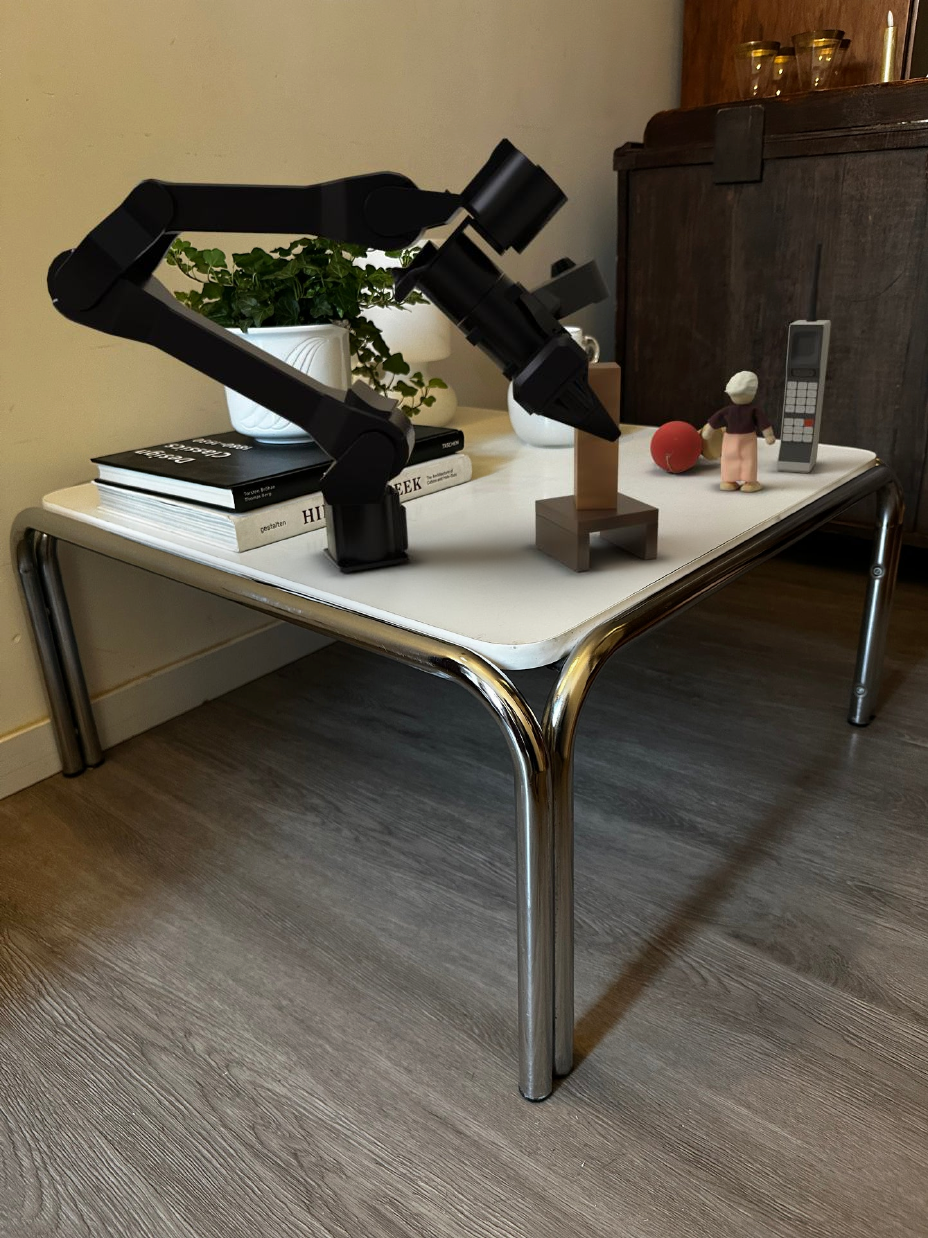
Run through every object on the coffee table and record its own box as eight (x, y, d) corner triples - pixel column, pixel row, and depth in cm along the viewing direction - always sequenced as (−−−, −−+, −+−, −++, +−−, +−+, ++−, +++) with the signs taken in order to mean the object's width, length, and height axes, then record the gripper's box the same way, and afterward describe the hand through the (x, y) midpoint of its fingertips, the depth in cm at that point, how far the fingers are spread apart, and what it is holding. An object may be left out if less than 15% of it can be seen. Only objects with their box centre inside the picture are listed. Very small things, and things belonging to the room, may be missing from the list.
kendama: (690, 455, 125) (628, 463, 111) (703, 408, 123) (642, 410, 109) (743, 471, 121) (686, 482, 107) (758, 423, 119) (702, 428, 105)
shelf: (577, 572, 79) (577, 521, 77) (535, 547, 86) (534, 500, 84) (657, 558, 82) (659, 508, 80) (610, 534, 89) (611, 488, 87)
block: (577, 510, 81) (578, 368, 76) (573, 499, 84) (574, 363, 79) (617, 508, 81) (620, 367, 76) (612, 498, 84) (615, 361, 79)
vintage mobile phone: (776, 471, 110) (796, 243, 100) (784, 462, 114) (804, 242, 104) (809, 473, 108) (833, 242, 98) (816, 464, 112) (839, 241, 103)
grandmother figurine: (770, 484, 104) (780, 368, 99) (771, 493, 100) (781, 373, 96) (700, 482, 106) (706, 368, 101) (698, 491, 103) (705, 373, 98)
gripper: (557, 218, 65) (706, 374, 69) (543, 223, 82) (663, 347, 86) (450, 339, 68) (598, 482, 72) (459, 320, 86) (577, 435, 89)
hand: (612, 430), depth 80 cm, fingers open, 6 cm apart
